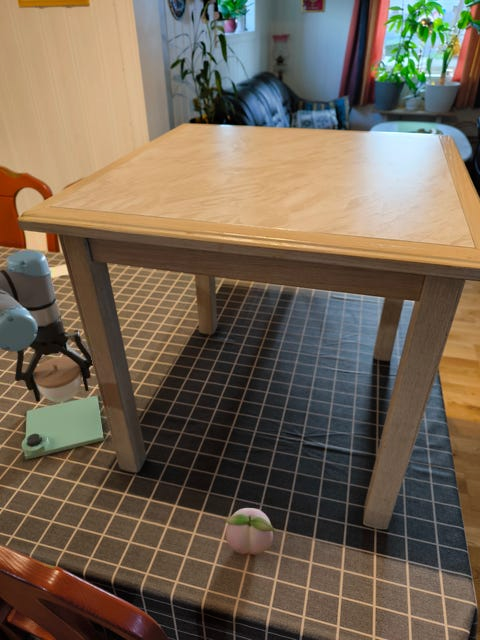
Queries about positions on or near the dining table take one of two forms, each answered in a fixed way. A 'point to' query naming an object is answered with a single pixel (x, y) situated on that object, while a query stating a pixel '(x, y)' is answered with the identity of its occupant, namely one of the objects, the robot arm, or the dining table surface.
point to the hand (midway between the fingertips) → (62, 392)
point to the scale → (63, 426)
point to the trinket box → (58, 379)
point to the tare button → (34, 440)
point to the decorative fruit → (249, 531)
